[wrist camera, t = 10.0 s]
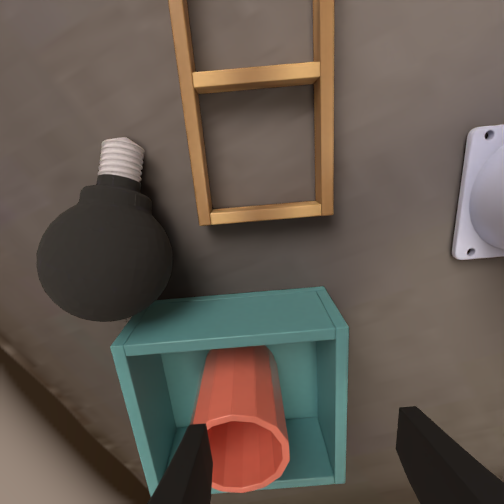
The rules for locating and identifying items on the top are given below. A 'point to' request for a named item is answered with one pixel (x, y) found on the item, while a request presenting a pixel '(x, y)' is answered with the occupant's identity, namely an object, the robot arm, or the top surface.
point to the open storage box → (231, 336)
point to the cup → (242, 417)
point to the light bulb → (107, 244)
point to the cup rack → (259, 79)
